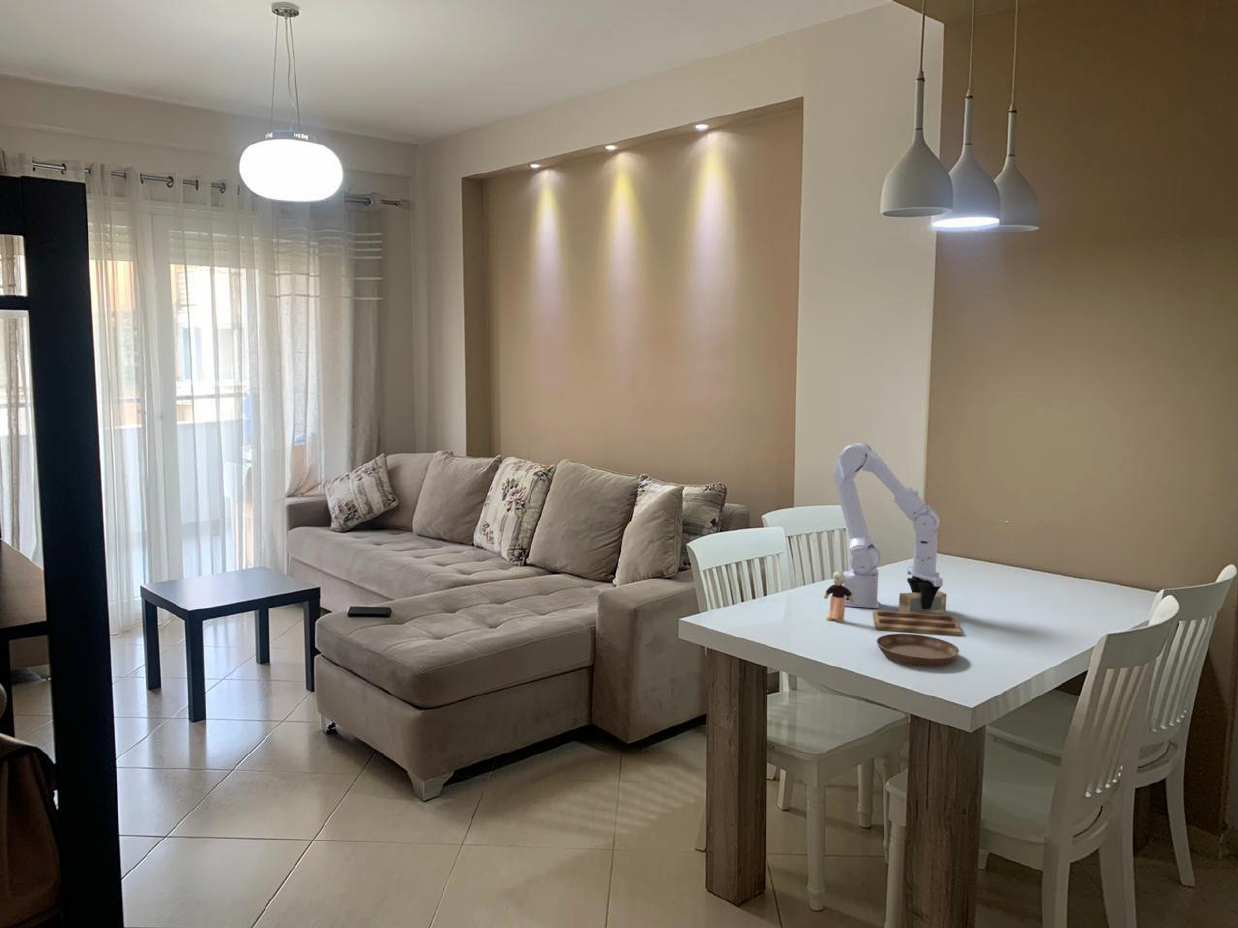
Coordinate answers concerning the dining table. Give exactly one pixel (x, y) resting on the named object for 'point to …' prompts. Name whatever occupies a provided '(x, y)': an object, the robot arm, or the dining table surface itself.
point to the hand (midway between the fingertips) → (922, 606)
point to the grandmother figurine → (837, 598)
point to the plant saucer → (917, 650)
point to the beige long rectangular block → (914, 603)
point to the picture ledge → (916, 623)
